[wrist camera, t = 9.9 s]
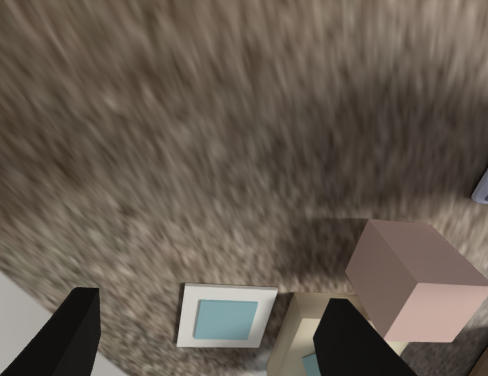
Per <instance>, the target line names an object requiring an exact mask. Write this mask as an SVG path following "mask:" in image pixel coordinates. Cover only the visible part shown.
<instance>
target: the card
mask: <svg viewBox="0 0 488 376" xmlns="http://www.w3.org/2000/svg"><path fill="white" fill-rule="evenodd" d="M277 292H278V289H277V287H259V286H238V285H217V284H196V283H185V289H184V296H183V304H182V311H181V318H180V325H179V333H178V340H177V347H246V348H259V346H260V343H261V340H262V337H263V334H264V331H265V328H266V325H267V322H268V319H269V316H270V313H271V310H272V307H273V304H274V301H275V298H276V295H277Z"/></svg>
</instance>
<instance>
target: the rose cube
mask: <svg viewBox="0 0 488 376" xmlns="http://www.w3.org/2000/svg"><path fill="white" fill-rule="evenodd" d="M345 273H346V274H347V276H348V278H349V280H350V282H351V284H352V286H353V288H354V289H355V291H356V293H357V295H358V297H359V299H360V301H361V303H362V305H363V306H364V308H365V310H366V312H367V314H368V316H369V318H370V320H371V321H372V323H373V325H374V327H375V329H376V331H377V332H378V333H379V335H380V336H381V337H382V338H383V339H384V340H385V341H392V342H452V341H453V340H454V338H455V337H456V336H457V335H458V333H459V332H460V331H461V329H462V328H463V327H464V326H465V324H466V323H467V322H468V320H469V319H470V318H471V317H472V315H473V314H474V313H475V311H476V310H477V309H478V308H479V306H480V305H481V304H482V302H483V301H484V300H485V299H486V297H487V296H488V280H487V279H486V278H485V277H484V276H483V275H482V274H481V273H480V272H479V271H478V270H477V269H476V268H475V267H474V266H473V265H472V264H471V263H469V262H468V261H467V260H466V259H465V258H464V257H463V256H462V255H461V254H460V253H459V252H458V251H457V250H456V249H455V248H454V247H453V246H452V245H451V244H450V243H449V242H448V241H447V240H446V239H445V238H444V237H443V236H442V235H441V234H440V233H439V232H438V231H437V230H436V229H435V228H434V227H433V226H432V225H429V224H419V223H408V222H398V221H387V220H377V219H368V222H367V224H366V226H365V228H364V230H363V233H362V235H361V237H360V239H359V241H358V244H357V246H356V248H355V250H354V252H353V255H352V257H351V259H350V261H349V263H348V266H347V268H346V270H345Z"/></svg>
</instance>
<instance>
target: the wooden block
mask: <svg viewBox="0 0 488 376" xmlns="http://www.w3.org/2000/svg"><path fill="white" fill-rule="evenodd" d="M468 376H488V347H487V348H486V350H485V351H484V353H483V354H482V356H481V357H480V359H479V360H478V362H477V363H476V365H475V366H474V368H473V369H472V371H471V372H470V374H469V375H468Z"/></svg>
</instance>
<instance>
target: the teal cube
mask: <svg viewBox="0 0 488 376" xmlns="http://www.w3.org/2000/svg"><path fill="white" fill-rule="evenodd" d="M302 360H303V363H304V367H305V370H306V373H307V376H321V374H320V371H319V367H318V362H317V358H316V353H315V354H313V355H310V356H308V357H305V358H303V359H302Z"/></svg>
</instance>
